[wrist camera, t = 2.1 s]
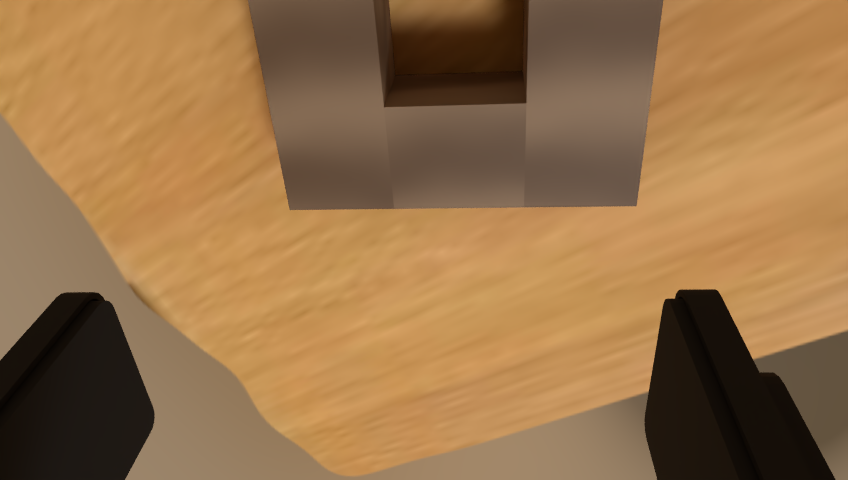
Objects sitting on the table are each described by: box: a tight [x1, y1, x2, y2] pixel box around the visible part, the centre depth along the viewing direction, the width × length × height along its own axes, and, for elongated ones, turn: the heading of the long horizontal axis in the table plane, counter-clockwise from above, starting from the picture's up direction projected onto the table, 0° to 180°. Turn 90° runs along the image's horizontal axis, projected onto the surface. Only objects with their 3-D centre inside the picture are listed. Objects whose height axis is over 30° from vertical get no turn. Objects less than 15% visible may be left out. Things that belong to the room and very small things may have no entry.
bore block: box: [248, 0, 663, 210], centre depth 28 cm, size 16×16×4 cm
